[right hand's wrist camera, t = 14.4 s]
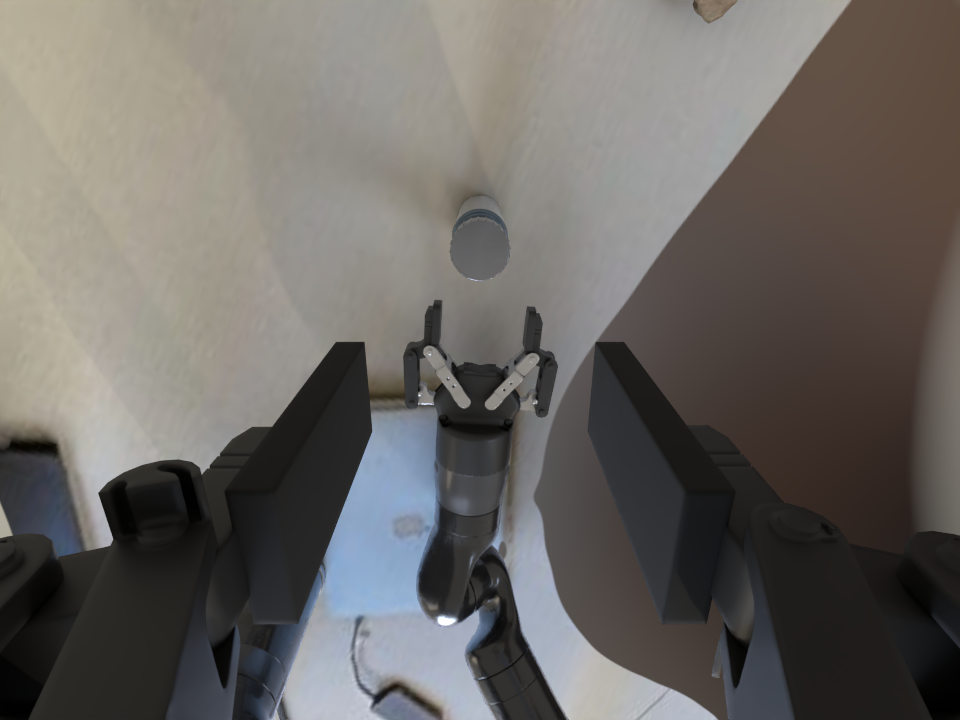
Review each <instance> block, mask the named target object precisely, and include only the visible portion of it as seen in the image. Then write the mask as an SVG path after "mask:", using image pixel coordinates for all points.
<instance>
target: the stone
mask: <svg viewBox="0 0 960 720" xmlns="http://www.w3.org/2000/svg"><path fill="white" fill-rule="evenodd" d="M736 2H737V0H694V3H693V7H694V10H695V11H696V13H697V14H699V15H700V16H702V17H703V19H704V20H705V21H706V22H707V23H711V22H713V21H714V20H716V19H718V18H720V17H722V16H723V15H724V14H725V12H726V11H727V10H728V9H729V8H731V7H732V6H733V5H734V4H735V3H736Z"/></svg>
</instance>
